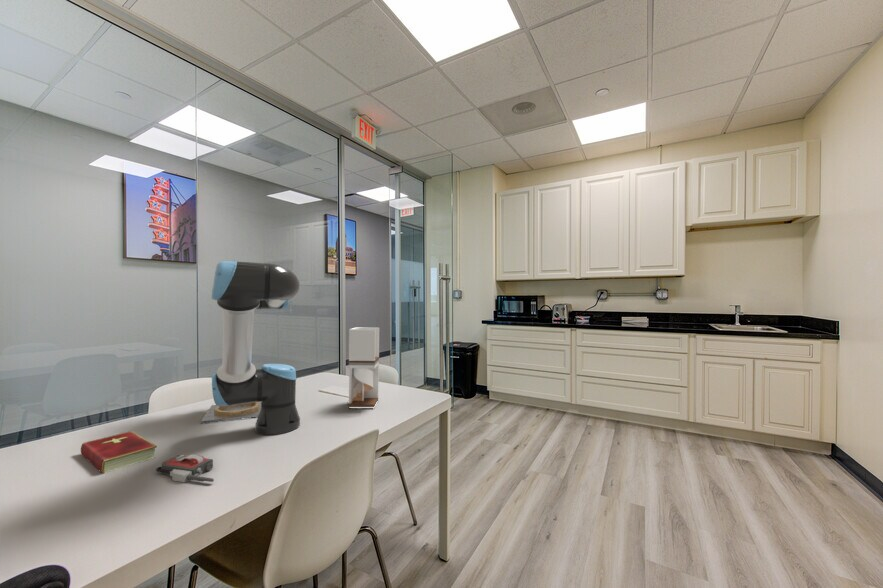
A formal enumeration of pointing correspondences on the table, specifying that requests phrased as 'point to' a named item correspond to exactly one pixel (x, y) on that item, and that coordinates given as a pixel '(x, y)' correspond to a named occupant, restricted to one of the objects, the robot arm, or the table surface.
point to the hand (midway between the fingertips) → (236, 375)
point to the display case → (363, 366)
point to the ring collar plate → (231, 412)
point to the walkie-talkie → (187, 468)
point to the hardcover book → (118, 451)
